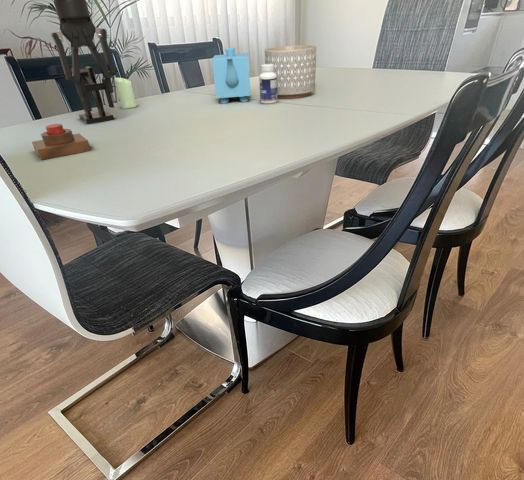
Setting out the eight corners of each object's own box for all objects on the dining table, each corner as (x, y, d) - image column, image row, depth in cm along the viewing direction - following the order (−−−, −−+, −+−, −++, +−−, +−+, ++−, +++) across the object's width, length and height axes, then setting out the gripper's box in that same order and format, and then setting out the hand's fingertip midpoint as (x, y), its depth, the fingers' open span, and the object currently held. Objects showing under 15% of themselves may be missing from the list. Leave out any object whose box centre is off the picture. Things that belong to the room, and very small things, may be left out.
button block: (41, 160, 86) (33, 140, 83) (35, 151, 92) (28, 133, 89) (91, 150, 90) (84, 131, 87) (82, 143, 96) (76, 124, 93)
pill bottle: (257, 103, 123) (254, 65, 117) (268, 100, 126) (267, 63, 119) (269, 104, 120) (267, 66, 114) (280, 101, 123) (280, 63, 116)
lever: (106, 91, 107) (104, 81, 105) (86, 94, 105) (84, 84, 103) (93, 77, 113) (90, 67, 111) (74, 80, 111) (71, 70, 109)
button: (50, 137, 87) (46, 128, 86) (47, 134, 89) (44, 125, 88) (66, 134, 88) (63, 125, 87) (63, 131, 90) (60, 123, 89)
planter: (256, 97, 130) (254, 50, 122) (286, 89, 139) (285, 45, 131) (295, 101, 122) (295, 50, 113) (324, 92, 131) (326, 45, 122)
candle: (139, 105, 132) (132, 76, 126) (132, 108, 128) (125, 78, 123) (126, 105, 133) (118, 76, 127) (119, 108, 129) (111, 78, 124)
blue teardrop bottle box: (219, 96, 137) (214, 47, 128) (250, 93, 137) (247, 44, 127) (216, 108, 120) (209, 52, 111) (251, 105, 120) (247, 50, 111)
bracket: (114, 119, 116) (100, 67, 107) (87, 124, 113) (70, 70, 104) (105, 114, 122) (91, 65, 114) (80, 119, 119) (63, 68, 111)
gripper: (30, -1, 87) (69, 116, 103) (110, -5, 94) (136, 105, 110) (26, 0, 92) (64, 112, 108) (103, -4, 99) (128, 102, 115)
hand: (100, 108), depth 109 cm, fingers closed on lever, 5 cm apart
